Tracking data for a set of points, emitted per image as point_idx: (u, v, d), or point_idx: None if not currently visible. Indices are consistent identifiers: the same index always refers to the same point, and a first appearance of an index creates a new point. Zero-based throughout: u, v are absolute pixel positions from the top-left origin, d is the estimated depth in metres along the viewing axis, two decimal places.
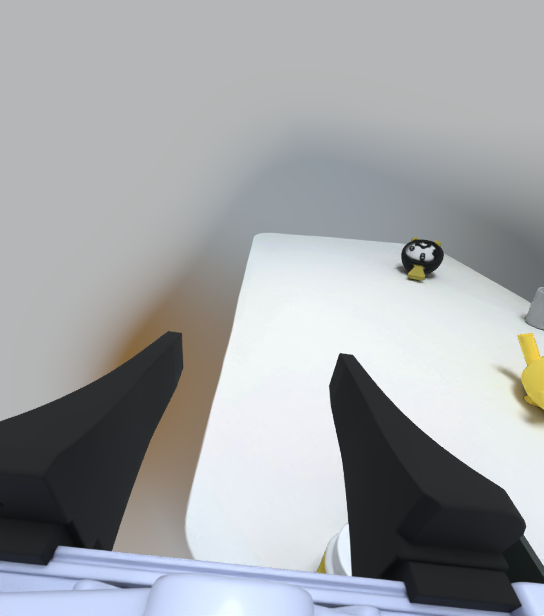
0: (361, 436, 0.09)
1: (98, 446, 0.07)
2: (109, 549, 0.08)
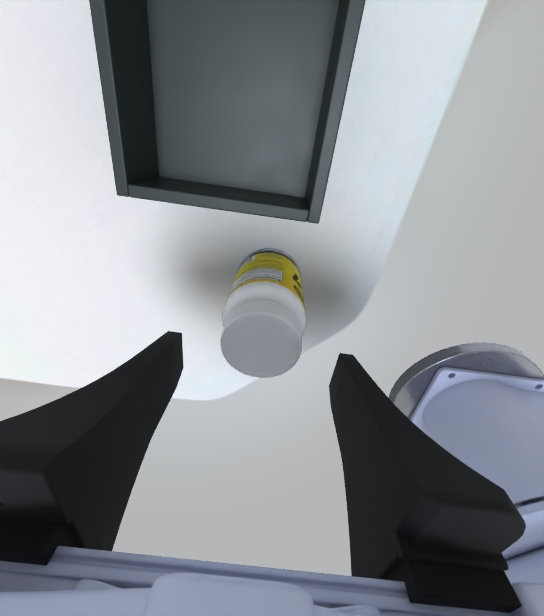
0: (361, 436, 0.09)
1: (98, 446, 0.07)
2: (109, 549, 0.08)
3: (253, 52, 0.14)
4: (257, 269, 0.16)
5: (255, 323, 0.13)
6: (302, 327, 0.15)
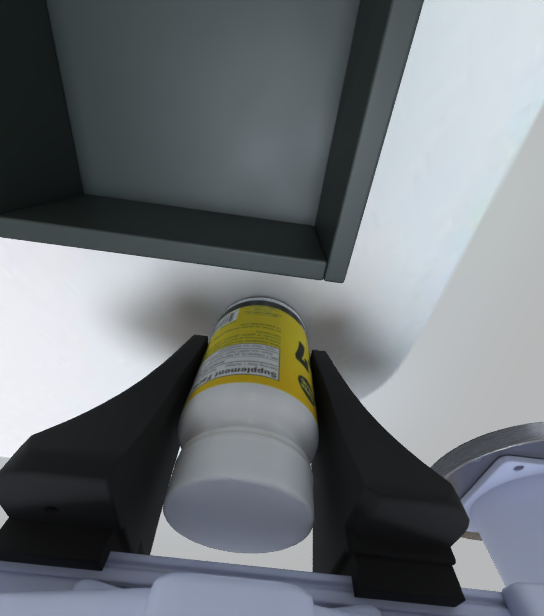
0: (325, 432, 0.09)
1: (145, 452, 0.07)
2: (148, 553, 0.08)
3: None
4: (237, 345, 0.10)
5: (225, 491, 0.07)
6: (313, 453, 0.09)
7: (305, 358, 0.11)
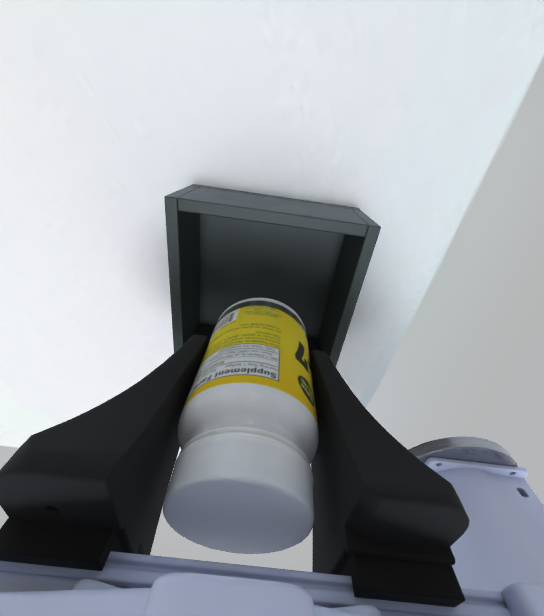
0: (325, 432, 0.09)
1: (145, 452, 0.07)
2: (148, 553, 0.08)
3: (280, 251, 0.18)
4: (237, 345, 0.10)
5: (224, 492, 0.07)
6: (312, 454, 0.09)
7: (305, 358, 0.11)
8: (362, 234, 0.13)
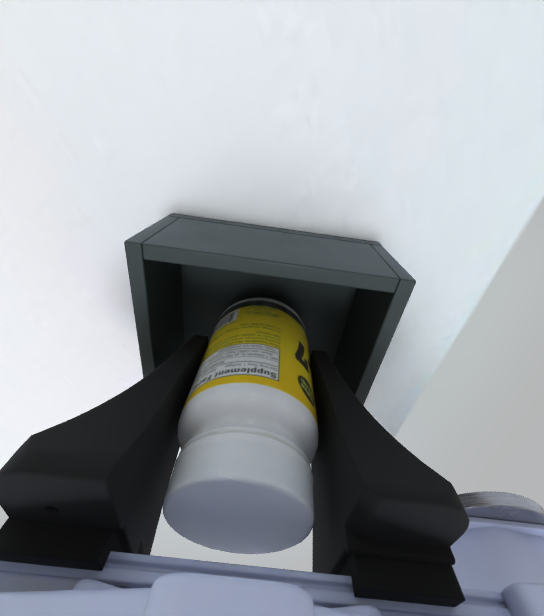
0: (325, 432, 0.09)
1: (144, 452, 0.07)
2: (148, 553, 0.08)
3: (280, 293, 0.15)
4: (237, 345, 0.10)
5: (224, 492, 0.07)
6: (313, 453, 0.09)
7: (305, 358, 0.11)
8: (391, 290, 0.10)
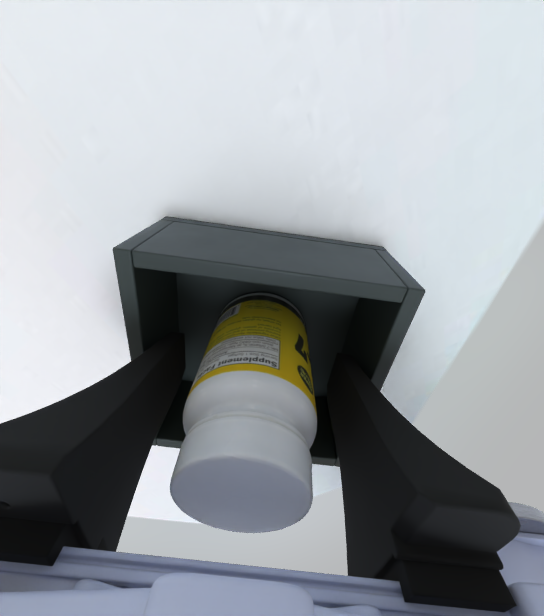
0: (358, 436, 0.09)
1: (103, 447, 0.07)
2: (113, 549, 0.08)
3: None
4: (239, 337, 0.10)
5: (228, 470, 0.07)
6: (311, 439, 0.09)
7: (304, 350, 0.11)
8: (398, 299, 0.09)
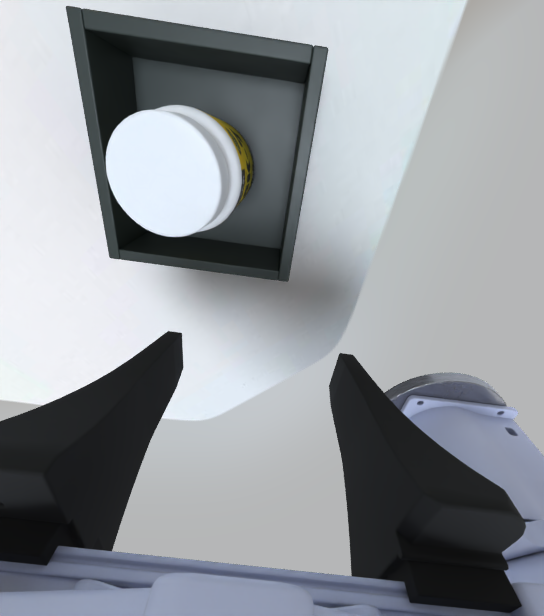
0: (361, 436, 0.09)
1: (98, 446, 0.07)
2: (109, 549, 0.08)
3: None
4: None
5: (148, 131, 0.09)
6: (234, 177, 0.11)
7: (240, 142, 0.13)
8: (307, 59, 0.11)
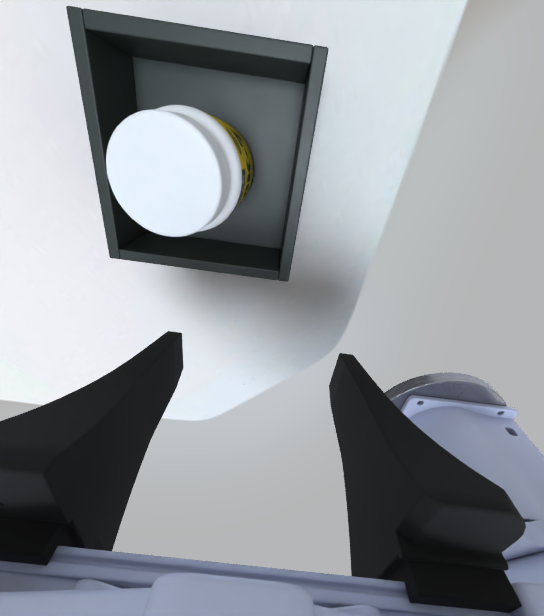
0: (361, 436, 0.09)
1: (98, 446, 0.07)
2: (109, 549, 0.08)
3: None
4: None
5: (148, 131, 0.09)
6: (235, 177, 0.11)
7: (241, 142, 0.13)
8: (307, 59, 0.11)
